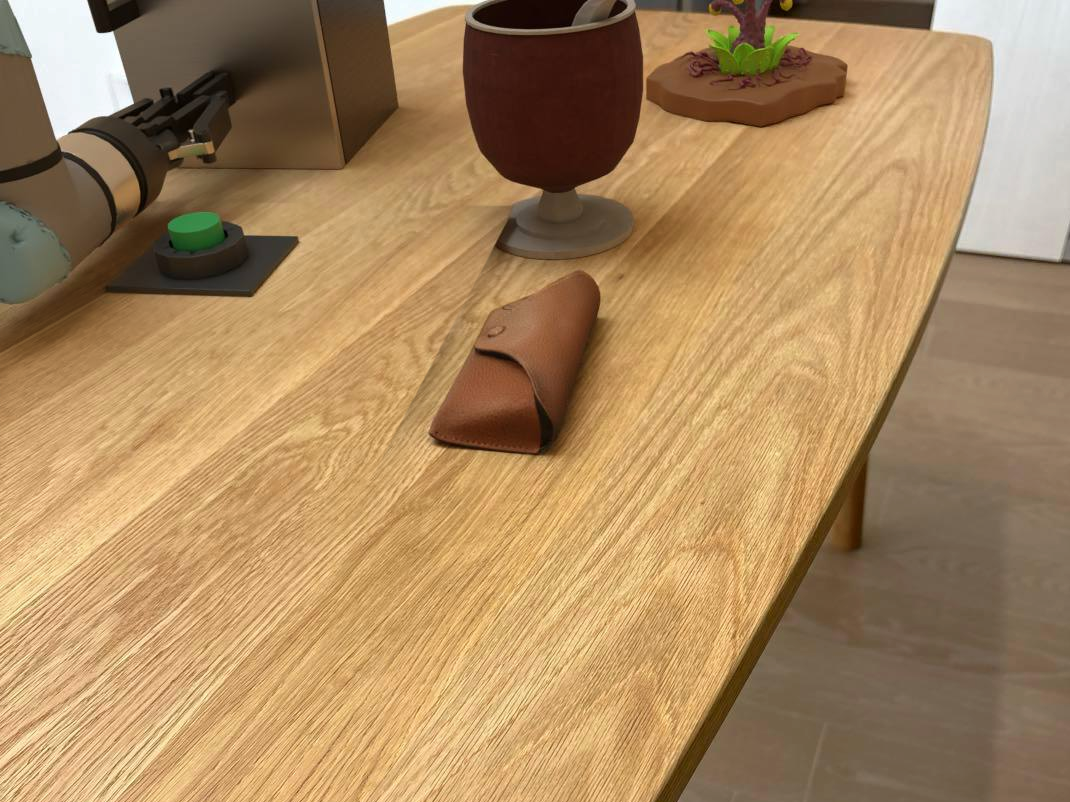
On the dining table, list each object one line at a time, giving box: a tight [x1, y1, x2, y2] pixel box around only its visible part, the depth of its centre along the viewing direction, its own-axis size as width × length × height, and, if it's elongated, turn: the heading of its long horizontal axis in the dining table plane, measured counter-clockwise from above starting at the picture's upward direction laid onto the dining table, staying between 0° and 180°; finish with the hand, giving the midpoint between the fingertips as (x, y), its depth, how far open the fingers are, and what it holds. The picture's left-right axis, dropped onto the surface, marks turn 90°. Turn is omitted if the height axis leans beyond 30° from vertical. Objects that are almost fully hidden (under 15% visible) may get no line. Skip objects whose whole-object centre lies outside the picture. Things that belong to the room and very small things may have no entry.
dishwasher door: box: [86, 0, 346, 170], centre depth 97 cm, size 7×20×24 cm, turn 79°
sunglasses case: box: [428, 269, 601, 455], centre depth 70 cm, size 18×7×7 cm, turn 169°
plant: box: [645, 0, 849, 128], centre depth 112 cm, size 20×20×11 cm
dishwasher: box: [316, 0, 400, 166], centre depth 107 cm, size 18×20×24 cm
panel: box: [105, 220, 300, 298], centre depth 85 cm, size 12×10×4 cm
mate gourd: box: [462, 0, 644, 260], centre depth 84 cm, size 16×14×20 cm
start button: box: [167, 211, 225, 251], centre depth 83 cm, size 4×4×2 cm
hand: (221, 87), depth 102 cm, fingers closed, pressing on dishwasher door
